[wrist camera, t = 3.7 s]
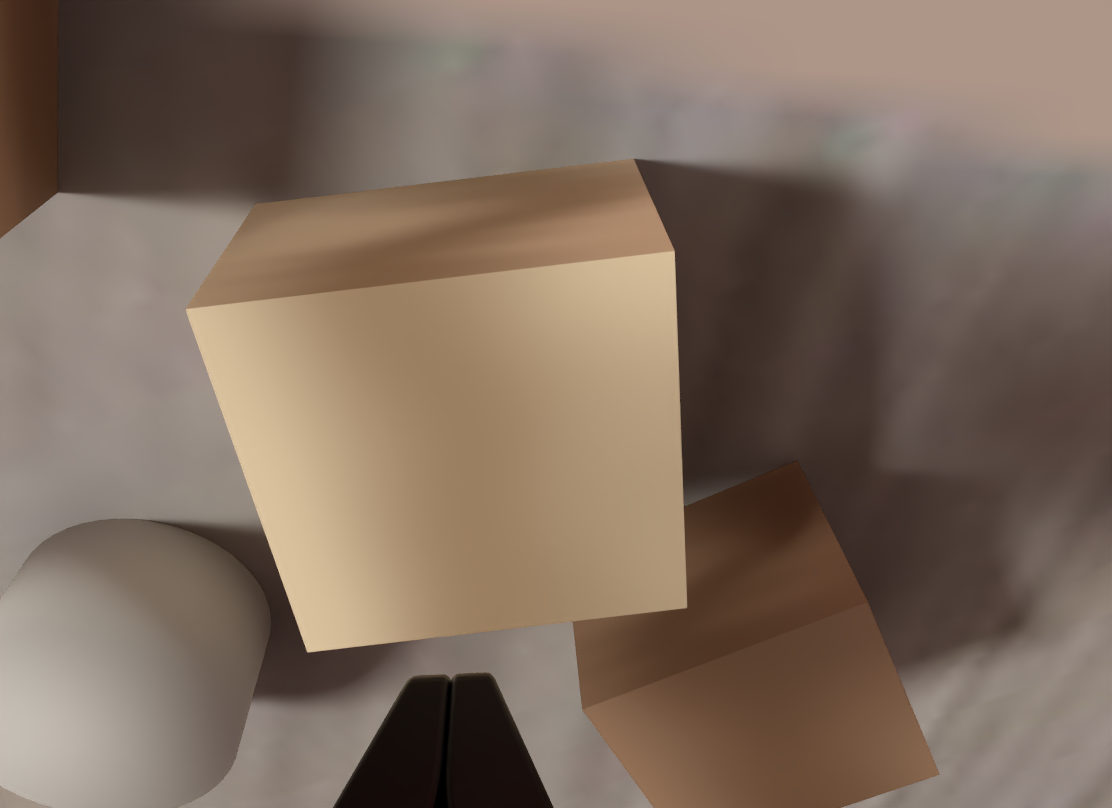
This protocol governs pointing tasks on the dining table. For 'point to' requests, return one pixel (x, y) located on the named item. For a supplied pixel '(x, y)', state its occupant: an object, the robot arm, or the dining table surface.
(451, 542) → the maple block
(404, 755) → the robot arm
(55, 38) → the walnut block
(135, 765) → the grey rounded cylinder
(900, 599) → the dining table surface
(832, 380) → the dining table surface
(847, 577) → the walnut block
